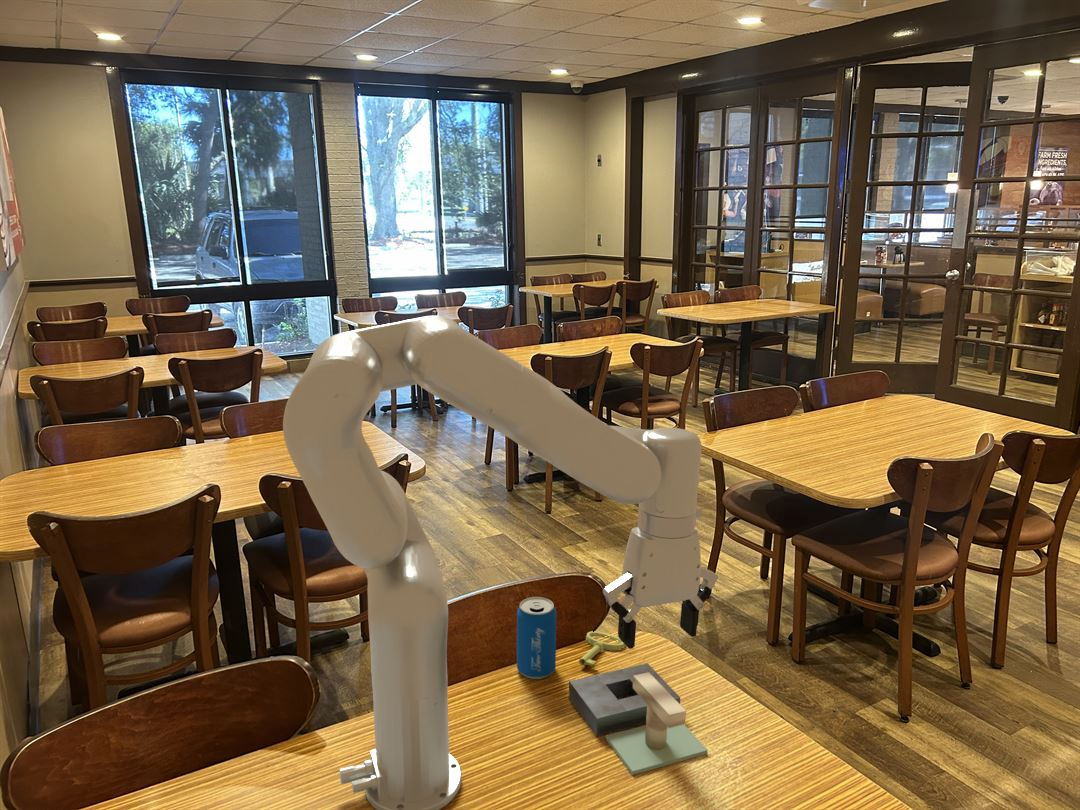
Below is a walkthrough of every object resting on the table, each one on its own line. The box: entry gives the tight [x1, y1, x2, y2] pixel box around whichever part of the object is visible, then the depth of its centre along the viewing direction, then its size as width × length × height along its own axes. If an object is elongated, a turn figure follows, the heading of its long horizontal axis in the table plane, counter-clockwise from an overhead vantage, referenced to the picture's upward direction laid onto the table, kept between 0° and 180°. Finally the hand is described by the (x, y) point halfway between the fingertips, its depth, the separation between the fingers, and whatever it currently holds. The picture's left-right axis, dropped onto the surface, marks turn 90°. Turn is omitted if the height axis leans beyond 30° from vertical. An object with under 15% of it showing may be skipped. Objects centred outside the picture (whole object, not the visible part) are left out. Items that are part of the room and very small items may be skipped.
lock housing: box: [568, 663, 681, 737], centre depth 119 cm, size 14×10×3 cm
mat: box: [605, 724, 708, 776], centre depth 110 cm, size 12×8×1 cm, turn 112°
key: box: [578, 630, 626, 667], centre depth 134 cm, size 7×12×2 cm, turn 169°
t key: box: [633, 672, 687, 749], centre depth 109 cm, size 10×3×8 cm, turn 22°
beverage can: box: [516, 596, 557, 680], centre depth 127 cm, size 6×6×12 cm
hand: (657, 637), depth 106 cm, fingers open, 9 cm apart
